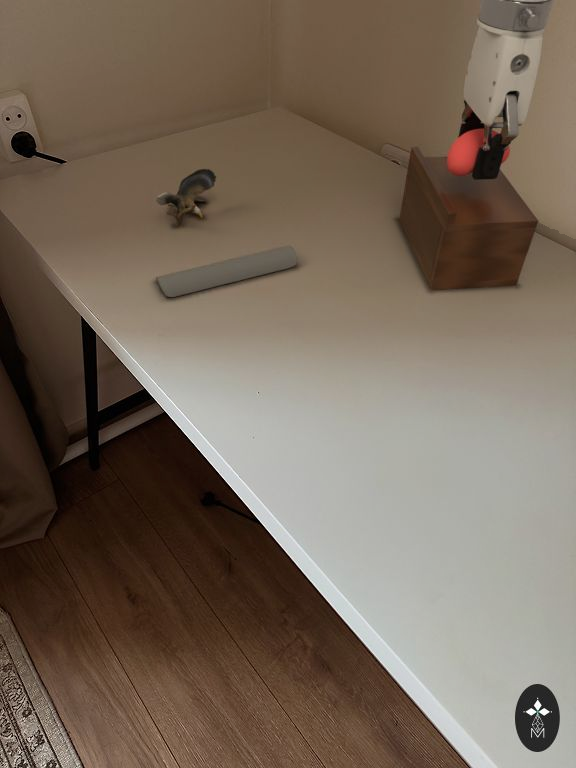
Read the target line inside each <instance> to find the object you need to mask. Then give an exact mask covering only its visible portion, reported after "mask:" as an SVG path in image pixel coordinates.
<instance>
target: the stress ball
mask: <svg viewBox="0 0 576 768" xmlns="http://www.w3.org/2000/svg"><path fill="white" fill-rule="evenodd" d="M500 133H501V132H498V131H496V130H494V129H492V138H493V137H494V136H495V135H496V134H500ZM483 137H484V129H475V130H471V131H468V132H466V133H464V134H463V135H462V136H460V137H459V138H458V137H457V138H456V139H455V140H454V142H453V143H452V145H450V148H449V150H448V153H447V156H446V157H447V166H448V169H449V171H450V172H451V173H452V174H453V175H455V176H465V175H468V174H470V173H472V172H473V169H474V165H475V161H476V157H477V154H478V150H479V147H483ZM510 153H511V147H510V144H509V145H508V148H507V150H506V151H505V152H504V155H503V159H502V162H501V165H502V164H503V163H505V162H506V161H507V160H508V158H509V157H510Z"/></svg>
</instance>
